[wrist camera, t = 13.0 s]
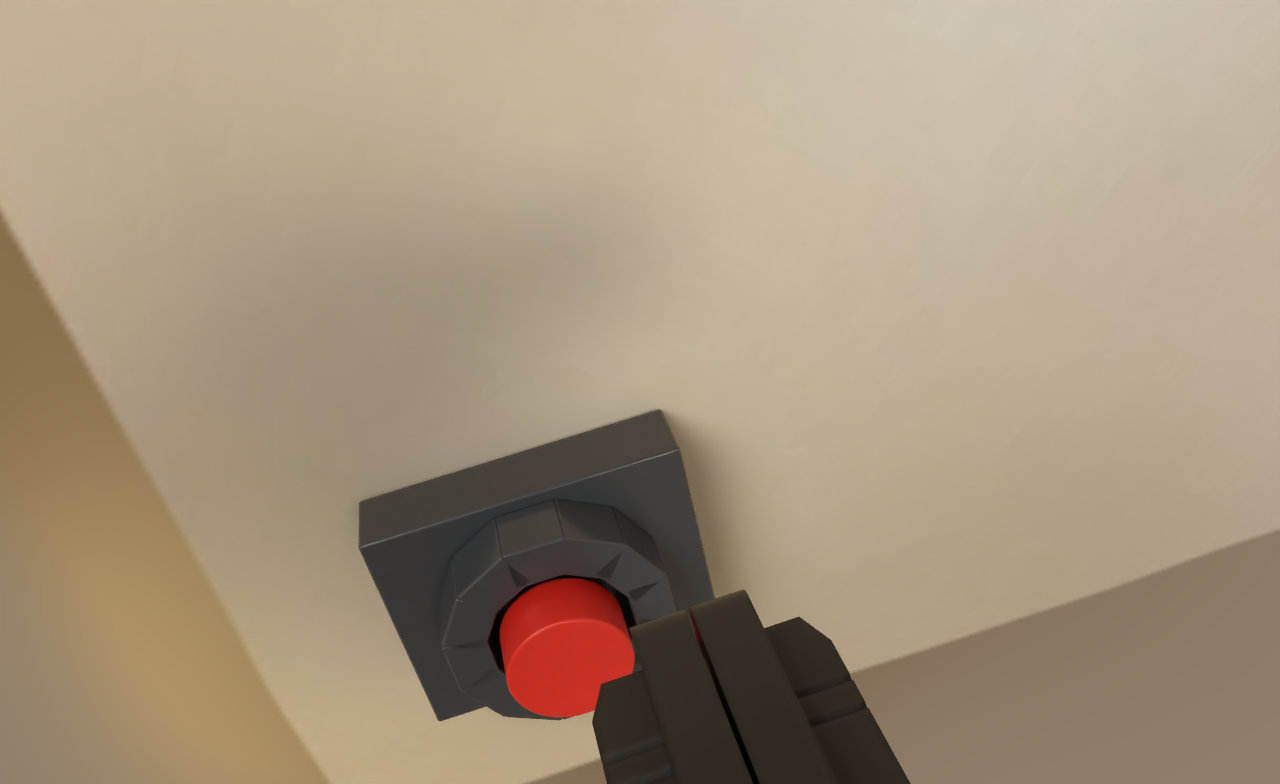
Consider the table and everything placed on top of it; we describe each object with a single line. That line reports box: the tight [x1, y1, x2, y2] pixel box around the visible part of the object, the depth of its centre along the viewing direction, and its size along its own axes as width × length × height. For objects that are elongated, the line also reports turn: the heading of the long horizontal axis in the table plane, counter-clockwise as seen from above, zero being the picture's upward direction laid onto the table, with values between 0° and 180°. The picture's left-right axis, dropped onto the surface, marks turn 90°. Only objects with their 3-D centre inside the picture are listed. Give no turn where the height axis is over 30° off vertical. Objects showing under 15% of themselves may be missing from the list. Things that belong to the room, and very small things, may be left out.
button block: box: [359, 410, 715, 721], centre depth 30 cm, size 9×7×4 cm
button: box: [500, 578, 635, 717], centre depth 28 cm, size 3×3×2 cm
